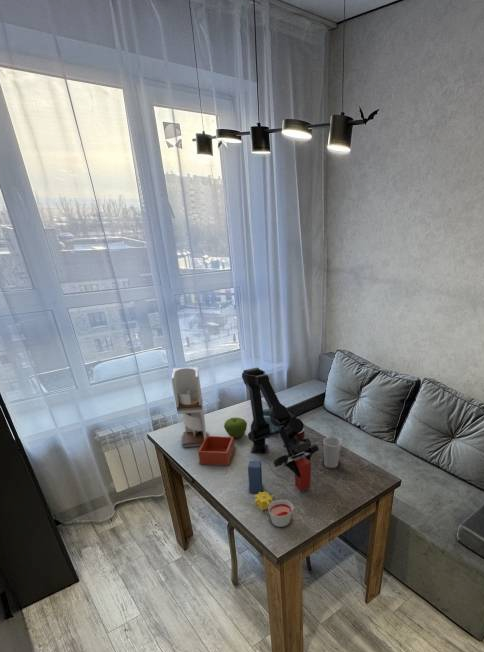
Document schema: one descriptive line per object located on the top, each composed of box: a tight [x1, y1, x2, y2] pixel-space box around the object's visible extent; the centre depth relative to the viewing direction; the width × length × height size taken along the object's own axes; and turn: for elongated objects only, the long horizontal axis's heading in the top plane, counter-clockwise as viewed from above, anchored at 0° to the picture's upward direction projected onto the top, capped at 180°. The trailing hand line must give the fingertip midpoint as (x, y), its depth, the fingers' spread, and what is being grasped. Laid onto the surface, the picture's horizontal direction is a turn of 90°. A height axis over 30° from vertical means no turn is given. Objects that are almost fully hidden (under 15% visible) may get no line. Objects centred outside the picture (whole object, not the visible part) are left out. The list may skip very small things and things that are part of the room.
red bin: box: [197, 435, 236, 466], centre depth 180 cm, size 14×13×6 cm
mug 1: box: [263, 408, 278, 434], centre depth 200 cm, size 15×11×10 cm
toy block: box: [254, 490, 275, 511], centre depth 152 cm, size 8×8×6 cm
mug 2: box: [296, 427, 305, 442], centre depth 188 cm, size 10×8×10 cm
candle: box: [267, 499, 294, 528], centre depth 146 cm, size 9×9×6 cm
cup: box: [322, 436, 342, 469], centre depth 177 cm, size 8×8×12 cm
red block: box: [294, 457, 312, 492], centre depth 160 cm, size 4×4×12 cm
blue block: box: [247, 460, 263, 494], centre depth 159 cm, size 4×4×12 cm
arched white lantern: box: [171, 366, 208, 448], centre depth 184 cm, size 11×11×35 cm
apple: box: [223, 416, 248, 439], centre depth 195 cm, size 11×10×10 cm
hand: (304, 475), depth 159 cm, fingers closed on red block, 4 cm apart
